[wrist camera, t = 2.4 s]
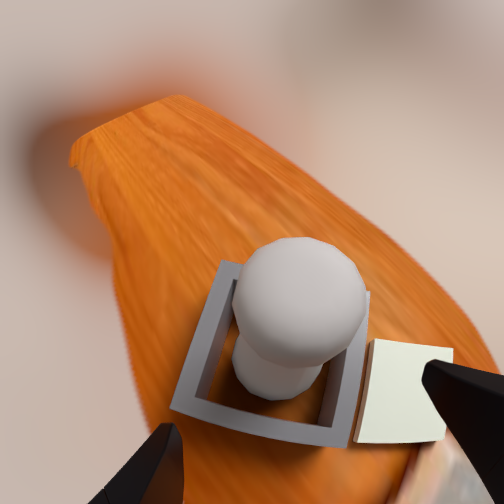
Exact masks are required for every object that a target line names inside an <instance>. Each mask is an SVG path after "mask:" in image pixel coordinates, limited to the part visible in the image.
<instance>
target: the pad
mask: <svg viewBox="0 0 504 504" xmlns="http://www.w3.org/2000/svg"><path fill="white" fill-rule="evenodd" d="M433 359H438V360H442V361H445V362H449V363H453V348H445V347H436V346H427V345H418V344H410V343H403V342H396V341H389V340H382V339H373V340H372V341H371V342H370V347H369V356H368V363H367V371H366V377H365V384H364V389H363V395H362V401H361V406H360V411H359V416H358V420H357V425H356V429H355V434H354V438H353V442H358V443H413V442H428V441H438V440H444V436H445V431H446V424H445V422H444V421H443V419H442V418H441V417H440V415H439V414H438V412H437V410H436V409H435V407H434V405H433V403H432V401H431V399H430V398H429V396H428V394H427V392H426V390H425V389H424V387H423V385H422V382H421V378H422V374H423V370H424V366H425V364H426V363H427V362H428V361H430V360H433Z"/></svg>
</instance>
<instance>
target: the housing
mask: <svg viewBox="0 0 504 504" xmlns="http://www.w3.org/2000/svg"><path fill="white" fill-rule="evenodd" d="M242 267H243V264H238V263H234V262H229V261H225V260H221V263H220V265H219V268H218V271H217V273H216V276H215V279H214V281H213V284H212V287H211V290H210V292H209V295H208V298H207V301H206V303H205V306H204V309H203V312H202V314H201V317H200V320H199V323H198V326H197V328H196V331H195V334H194V337H193V340H192V343H191V346H190V348H189V351H188V354H187V357H186V360H185V363H184V366H183V369H182V372H181V375H180V378H179V381H178V384H177V387H176V390H175V393H174V396H173V399H172V402H171V405H170V409H172V410H175V411H177V412H180V413H183V414H186V415H188V416H191V417H194V418H197V419H200V420H203V421H206V422H209V423H213V424H216V425H219V426H223V427H226V428H230V429H233V430H237V431H241V432H245V433H249V434H253V435H258V436H262V437H267V438H272V439H277V440H283V441H288V442H294V443H301V444H308V445H316V446H325V447H335V448H346V447H347V443H348V439H349V435H350V431H351V427H352V423H353V418H354V413H355V408H356V403H357V398H358V393H359V387H360V381H361V375H362V368H363V361H364V354H365V346H366V337H367V327H368V316H369V303H370V291H366V315H365V317H364V319H363V321H362V323H361V325H360V327H359V329H358V331H357V333H356V334H355V336H354V338H353V340H352V341H351V343H350V345H349V347H347V348H346V349H345V350H343V351H342V352H340V353H339V354H337V355H336V356H334V357H333V358H331V362H330V367H329V372H328V378H327V383H326V387H325V392H324V397H323V401H322V406H321V410H320V414H319V418H318V422H317V425H314V424H307V423H301V422H295V421H289V420H284V419H279V418H274V417H269V416H265V415H260V414H256V413H252V412H248V411H244V410H240V409H236V408H232V407H229V406H225V405H222V404H218V403H215V402H212V401H208V400H207V397H208V394H209V390H210V387H211V384H212V381H213V378H214V375H215V371H216V368H217V365H218V362H219V359H220V355H221V352H222V349H223V346H224V343H225V339H226V336H227V333H228V330H229V327H230V324H231V320H232V317H233V314H234V310H233V307H232V301H233V297H234V293H235V289H236V285H237V281H238V277H239V273H240V269H241V268H242Z"/></svg>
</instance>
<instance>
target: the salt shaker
mask: <svg viewBox="0 0 504 504" xmlns="http://www.w3.org/2000/svg"><path fill="white" fill-rule="evenodd" d="M232 307H233V310H234V314H235V317H236V321H237V325H238V328H239V332H240V335H239V336H238V338H237V339H236V342H235V346H234V350H233V354H232V363H233V366H234V369H235V373H236V376H237V378H238V380H239V381H240V382H241V383H242V384H243V385H244V387H245V388H246V389H247V390H248V391H249V392H250V393H251V394H254V395H257V396H259V397H262V398H265V399H267V400H285V399H292V398H294V397H295V396H297V395H299V394H301V393H302V392H304V391H306V390H307V389H309V388H310V386H311V385H312V383H313V382H314V380H315V379H316V377H317V376H318V374H319V373H320V371H321V368H322V365H323V364H324V363H325V362H327V361H328V360H330V359H331V358H333V357H334V356H336V355H337V354H339V353H340V352H342V351H343V350H345V349H346V348H347V347H349V345H350V343H351V341H352V340H353V338H354V336H355V334H356V333H357V331H358V329H359V327H360V325H361V323H362V321H363V319H364V317H365V315H366V287H365V285H364V282H363V280H362V278H361V276H360V274H359V272H358V270H357V268H356V266H355V264H354V263H353V262H352V261H351V260H350V259H349V258H348V257H346V256H345V255H344V254H343V253H342V252H340V251H339V250H338V249H337V248H336V247H334V246H332V245H330V244H327V243H324V242H321V241H318V240H316V239H313V238H310V237H297V238H281V239H279V240H276V241H274V242H272V243H270V244H267V245H265V246H263V247H261V248H258V249H257V250H256V251H255V252H254V254H253V255H252V256H251V257H250V258H249V259H248V261H247V262H246V263H245V264H244V265H243V267H242V268H241V269H240V273H239V277H238V281H237V285H236V289H235V293H234V297H233V301H232Z"/></svg>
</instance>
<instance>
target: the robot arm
mask: <svg viewBox="0 0 504 504" xmlns="http://www.w3.org/2000/svg"><path fill="white" fill-rule="evenodd" d="M421 382H422V385H423V387H424V389H425V390H426V392H427V394H428V396H429V398H430V399H431V401H432V403H433V405H434V407H435V409H436V410H437V412H438V414H439V415H440V417H441V418H442V419H443V421H444V422H445V424H446V425H447V427H448V428H449V430H450V431H451V433H452V434H453V436H454V437H455V439H456V440H457V442H458V443H459V445H460V446H461V448H462V449H463V451H464V452H465V454H466V456H467V457H468V459H469V460H470V462H471V463H472V465H473V467H474V468H475V470H476V472H477V473H478V475H479V477H480V478H481V479H482V482H483V483H484V485H485V487H486V489H487V490H488V492H489V494H490V496H491V497H492V499H493V501H494V503H495V504H504V375H499V374H495V373H490V372H486V371H482V370H477V369H473V368H469V367H465V366H461V365H457V364H453V363H449V362H445V361H442V360H438V359H433V360H430V361H428V362H427V363H426V364H425V366H424V370H423V374H422V378H421ZM183 490H184V467H183V445H182V438H181V436H180V434H179V432H178V430H177V428H176V426H175V424H174V423H172V422H167V423H161V424H160V425H159V426H158V427H157V428H156V430H155V431H154V432H153V433H152V434H151V435H150V436H149V438H148V439H147V440H146V441H145V442H144V443H143V445H142V446H141V447H140V448H139V449H138V451H136V453H135V454H134V455H133V456H132V457H131V458H130V459H129V461H127V463H126V464H125V465H124V466H123V467H122V468H121V469H120V470H119V472H117V474H116V475H115V476H114V477H113V478H112V479H111V480H110V481H109V482H108V483H107V485H105V487H104V489H102V490H101V491H100V492H99V493H98V494H97V495H96V496H95V497H94V498H93V499H92V500H91V501H90V502H89V503H88V504H183Z"/></svg>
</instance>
